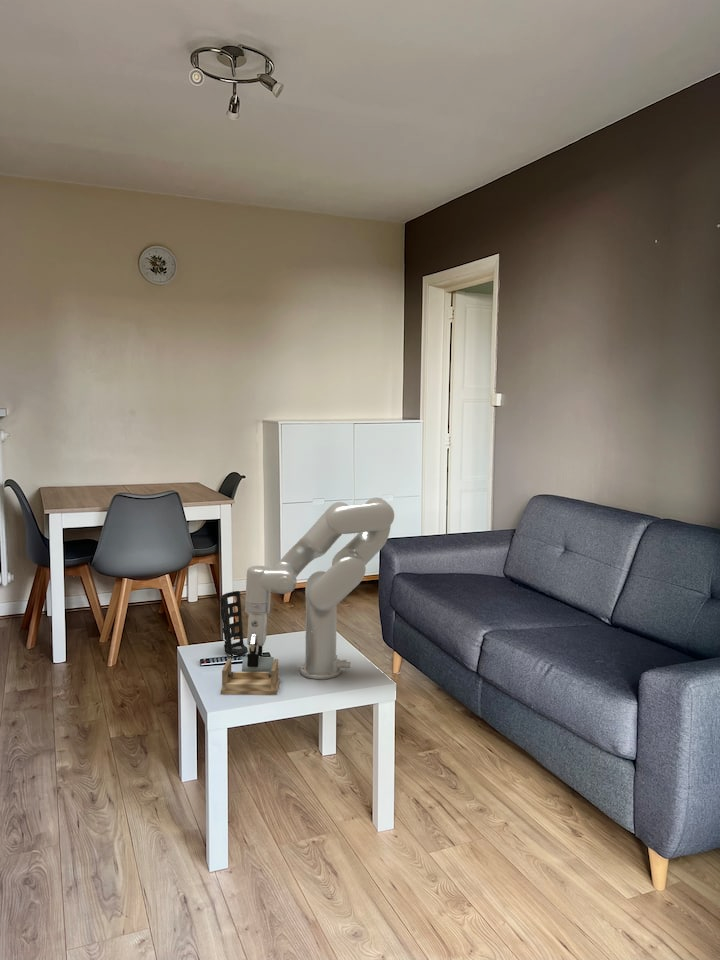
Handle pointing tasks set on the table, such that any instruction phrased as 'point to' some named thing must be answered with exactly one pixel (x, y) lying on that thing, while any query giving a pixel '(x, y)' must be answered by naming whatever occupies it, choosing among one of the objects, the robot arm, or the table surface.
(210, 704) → the table surface
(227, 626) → the holder
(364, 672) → the table surface
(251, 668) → the roll
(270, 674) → the cradle
